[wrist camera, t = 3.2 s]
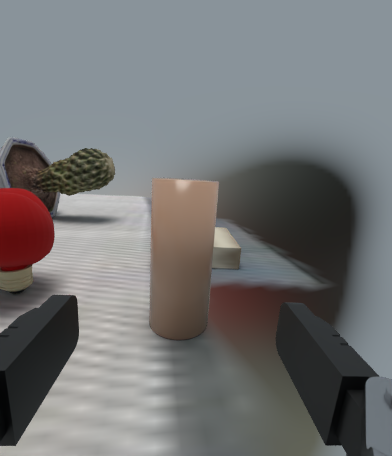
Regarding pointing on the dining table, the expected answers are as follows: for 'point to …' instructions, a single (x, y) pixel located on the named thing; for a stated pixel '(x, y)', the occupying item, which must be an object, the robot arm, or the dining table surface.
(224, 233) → the base slab
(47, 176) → the potted plant
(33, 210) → the red heart
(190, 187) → the tall pink cylinder
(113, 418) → the dining table surface
